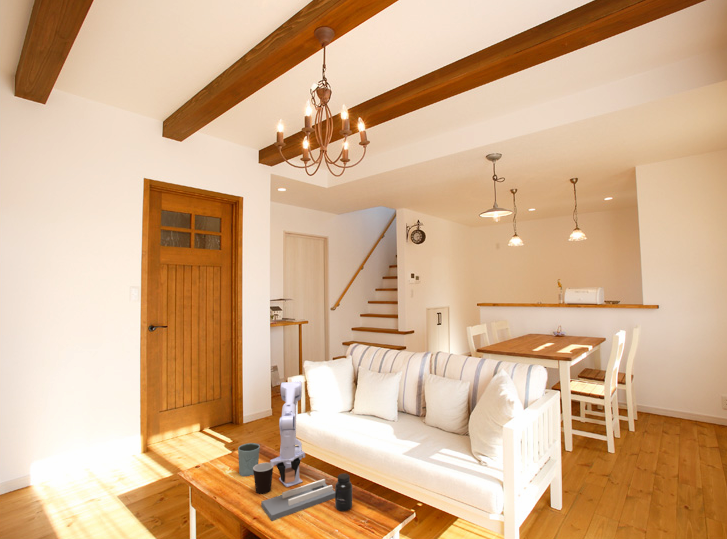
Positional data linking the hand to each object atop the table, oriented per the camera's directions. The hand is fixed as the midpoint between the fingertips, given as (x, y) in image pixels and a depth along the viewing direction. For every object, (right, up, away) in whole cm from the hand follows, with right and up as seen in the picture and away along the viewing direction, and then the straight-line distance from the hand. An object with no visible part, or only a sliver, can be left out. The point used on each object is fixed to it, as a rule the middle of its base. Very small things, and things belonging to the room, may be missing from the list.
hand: (288, 479), depth 155 cm
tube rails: (+8, -7, +2) cm, 11 cm away
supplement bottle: (+23, -9, -4) cm, 25 cm away
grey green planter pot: (-24, -12, +27) cm, 39 cm away
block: (0, 0, 0) cm, 0 cm away
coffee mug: (-13, -11, +11) cm, 20 cm away
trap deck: (+5, -9, 0) cm, 10 cm away
